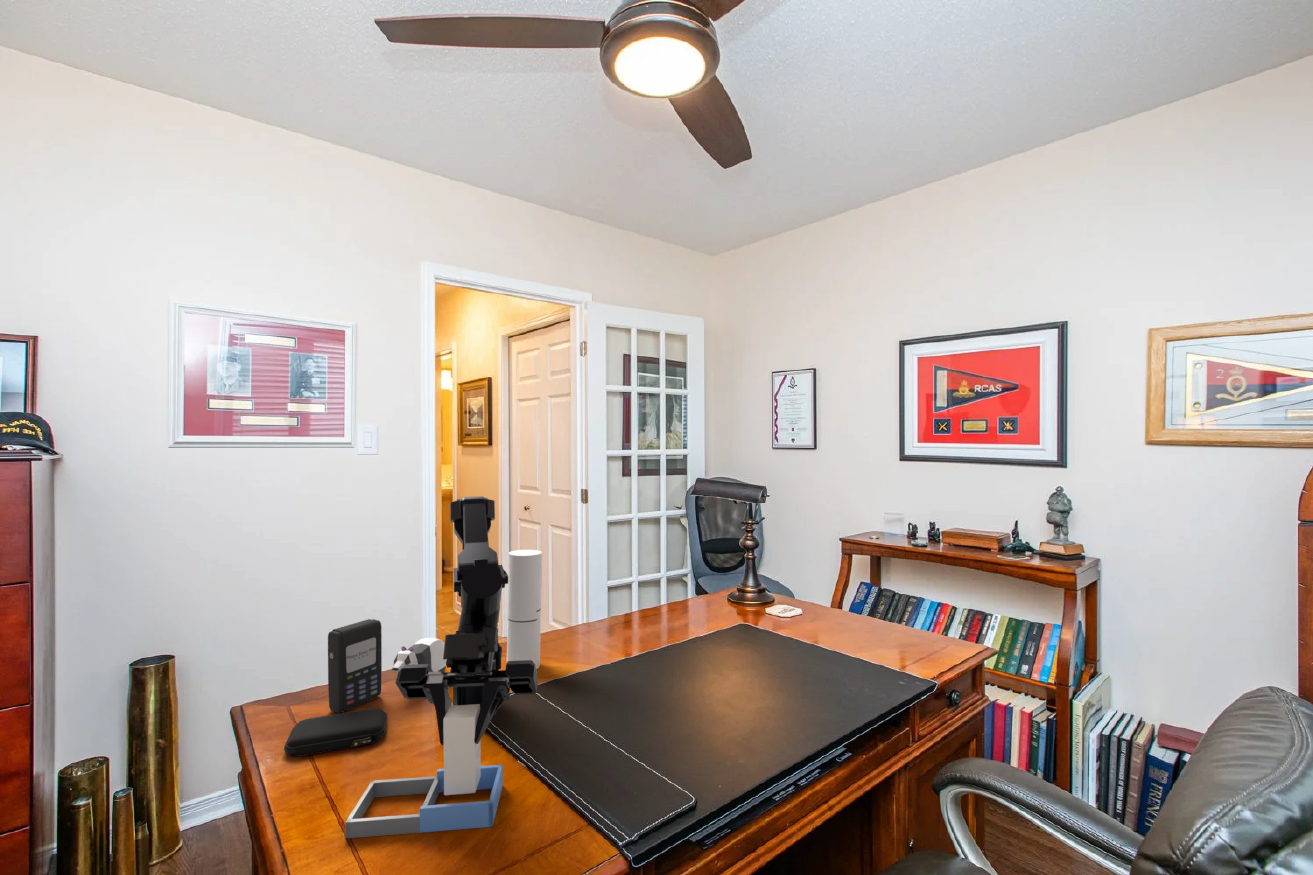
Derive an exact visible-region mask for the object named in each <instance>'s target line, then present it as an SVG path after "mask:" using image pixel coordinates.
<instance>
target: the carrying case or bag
mask: <svg viewBox="0 0 1313 875" xmlns="http://www.w3.org/2000/svg"><path fill="white" fill-rule="evenodd" d="M388 717H389V716H388V713H387V712H386V711H385V710H384V709H382V708H379V707H378V708H368V709H361V710H360V709H359V710H353V711H346V712H339V713H334V714H329V715H328V714H327V715H324V716H323V715H322V716H316V717H310V718H305V719H302V720H300V721H298V722H297V723H296V724H295V726H293V727H292V729H291V731H290V733H289V735H288V736H287V740H286V742H285V744H284V746H283V751H284V753H285V754H287V755H288V756H290V757H292V758H293V757H302V756H303V757H304V756H309V755H313V754H314V755H315V754H320V752H321V753H326V752H331V751H333V752H334V751H338V750H344V749H349V748H357V747H360V746H366V745H370V744H375V743H377V742H379V741H380V740H381V739H382V738H383V737H384V735H385V733H386V730H387V723H388Z"/></svg>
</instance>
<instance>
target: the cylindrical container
mask: <svg viewBox="0 0 1313 875" xmlns="http://www.w3.org/2000/svg"><path fill="white" fill-rule="evenodd" d="M542 562H543V551H541V550H537V549H517V550H512V551H509V552H508V568H507V569H508V573H507V575H508V584H507V620H506V621H507V624H506V625H507V629H506V631H507V632H506V634H507V635H506V663H507V662H508V661H522V660H532V661H533V663H534V664H535V666H536V670H538V669H539V668H540V666H541V665H540V664H541V621H542V620H541V618H542V609H541V608H542V576H543V574H542V570H543V566H542V564H543V563H542Z"/></svg>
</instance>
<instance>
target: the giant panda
mask: <svg viewBox="0 0 1313 875" xmlns="http://www.w3.org/2000/svg"><path fill="white" fill-rule="evenodd" d="M444 645H445V641H443V640H442V639H439V638H435V637H424V638H421V639H419V640H418V641H416V642H415V643H413V645H412V646H410V647H409V648H408V649H407V648H406V646H401V650H400V651H399V652H397V654H396V656H395V658H394V660H393V667H392V669H391V671H393V672H394V673H395V674H398V672H399V671H400V669H401V668H402V667H403V666H404V665H413V664H430V666H431V668H432V670H433V672H445V671H446V667H447V666H446V660H447V659H446V660H444V659H443V654H444Z"/></svg>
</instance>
